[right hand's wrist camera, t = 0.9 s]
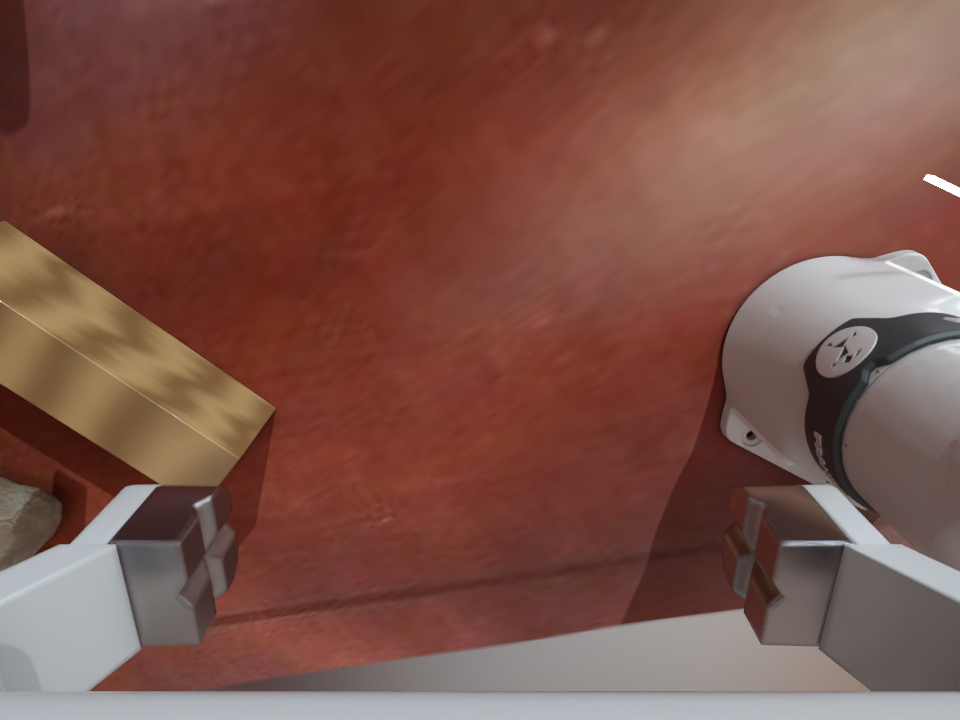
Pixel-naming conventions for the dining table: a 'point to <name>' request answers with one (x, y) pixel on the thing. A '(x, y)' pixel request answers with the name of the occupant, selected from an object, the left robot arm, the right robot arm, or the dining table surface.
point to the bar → (117, 372)
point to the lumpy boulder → (25, 521)
